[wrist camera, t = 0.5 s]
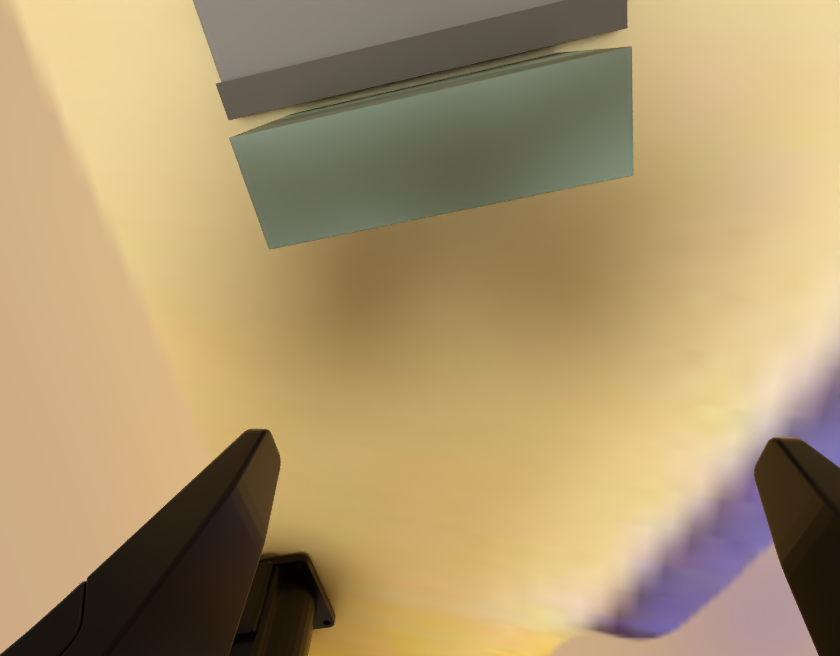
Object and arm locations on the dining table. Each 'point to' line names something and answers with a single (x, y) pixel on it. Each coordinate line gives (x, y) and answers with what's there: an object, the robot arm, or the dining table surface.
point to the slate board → (375, 41)
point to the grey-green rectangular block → (442, 146)
